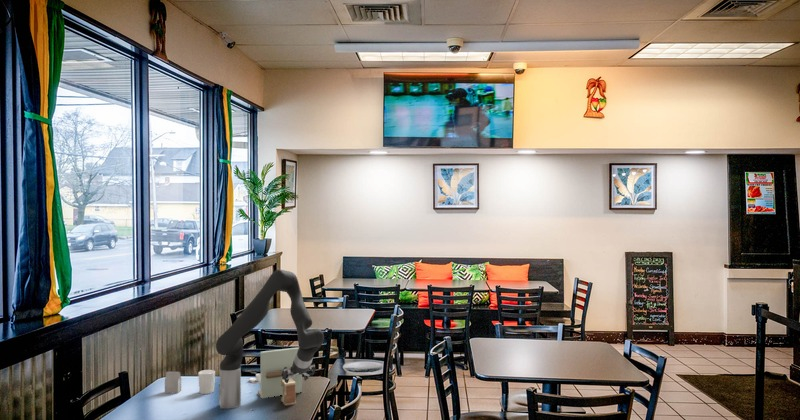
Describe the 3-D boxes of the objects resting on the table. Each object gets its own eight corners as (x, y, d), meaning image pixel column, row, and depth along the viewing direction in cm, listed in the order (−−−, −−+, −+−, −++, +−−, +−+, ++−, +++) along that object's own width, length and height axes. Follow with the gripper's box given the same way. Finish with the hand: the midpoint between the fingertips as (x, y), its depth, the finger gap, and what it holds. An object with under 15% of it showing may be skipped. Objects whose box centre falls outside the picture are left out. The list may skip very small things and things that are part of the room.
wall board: (303, 393, 275) (303, 349, 276) (262, 400, 266) (262, 353, 267) (297, 388, 285) (297, 344, 285) (257, 393, 276) (257, 349, 276)
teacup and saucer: (246, 382, 296) (246, 374, 296) (257, 378, 303) (257, 371, 303) (259, 385, 292) (259, 377, 292) (269, 380, 299) (269, 373, 299)
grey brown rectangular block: (178, 393, 278) (178, 373, 278) (164, 393, 278) (164, 372, 278) (181, 390, 282) (181, 370, 282) (168, 390, 282) (168, 370, 282)
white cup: (217, 389, 283) (217, 369, 283) (210, 394, 275) (210, 374, 275) (202, 389, 284) (202, 369, 284) (195, 394, 276) (195, 373, 276)
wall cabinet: (296, 404, 260) (296, 383, 260) (286, 406, 257) (285, 384, 258) (291, 399, 268) (291, 378, 268) (281, 400, 265) (280, 379, 265)
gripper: (316, 351, 247) (309, 370, 258) (285, 354, 241) (278, 374, 251) (320, 365, 243) (312, 385, 253) (288, 370, 236) (281, 389, 246)
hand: (295, 380), depth 252 cm, fingers open, 8 cm apart
